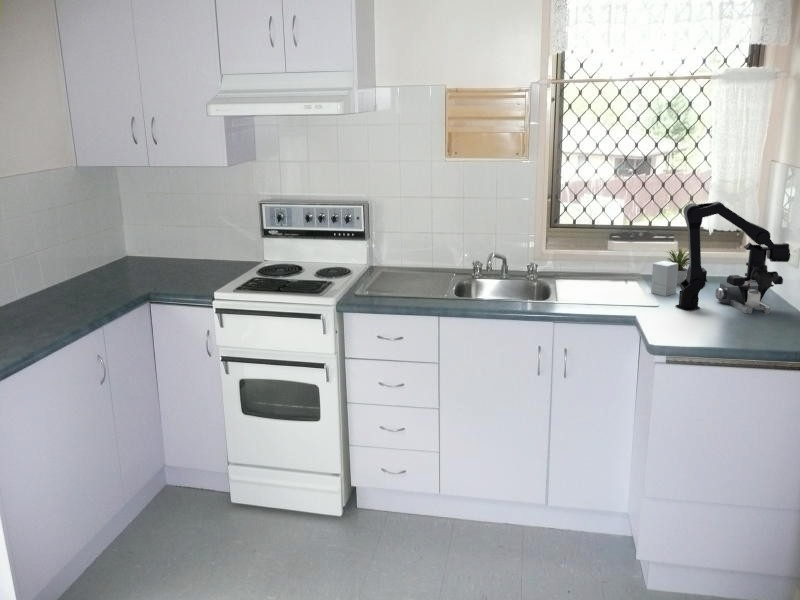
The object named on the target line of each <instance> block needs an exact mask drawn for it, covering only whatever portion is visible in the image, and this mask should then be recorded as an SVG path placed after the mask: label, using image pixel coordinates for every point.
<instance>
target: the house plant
mask: <svg viewBox="0 0 800 600" xmlns="http://www.w3.org/2000/svg"><path fill="white" fill-rule="evenodd" d="M687 251H689V247H688V248H686V249H685V250H684V251H683V247H681V246H679V247H678V253H677V252H676V251H674V250H673V249H672V248H671V249H670V250H668V251H666V253H667V254H668V255H669V256H670V257H669V258H668V257H667V258H666V260H668V261H669V262H673V263H678V276H677V286H680V285H679V284H680V283H681V282H683V281H684V280H685V279H686V276H687V270H688V268H687V267H688V265H689V252H688V253H687ZM686 253H687V254H686ZM685 254H686V255H685ZM684 255H685V256H684Z"/></svg>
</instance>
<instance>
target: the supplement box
mask: <svg viewBox="0 0 800 600" xmlns="http://www.w3.org/2000/svg"><path fill="white" fill-rule="evenodd" d="M651 273H652V274H651V286H650V287H651V288H650V294H656V295H660V296H664V297H667V296H671V295H674V294H677V286H678V285H677V276H678V263H673V262H672V261H669V260H668V261H667V260H661V261H657V262H656V261H655V262H653V263H652V271H651Z"/></svg>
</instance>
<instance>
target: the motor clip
mask: <svg viewBox="0 0 800 600" xmlns="http://www.w3.org/2000/svg"><path fill="white" fill-rule="evenodd" d="M748 286H750V288H749V289H748V291H749V290H750V289H755V290H758V284H756V283H755V282H748ZM714 294H715V298H716V299H717V300H718V301H719V302H721V303H722V304H724V305H731V306H732V307H734V308H736V310H739V311H741V312H742V313H744V314H749V315H751V314H752V313H753V308H750V307H746V306H745V302H744V300H743V297H742V294H741V291H740V289H739V287H738V286H733V285H731V284H729V283H727V282H720V284H719V287H717V288H716V289H715V292H714ZM757 309H759V310H761V311H763V313H764V314H769V313H770V312H771V306H769V305H766V304H765V303H763V302H761V301H760V305H759V307H758V308H757Z"/></svg>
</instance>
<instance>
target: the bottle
mask: <svg viewBox="0 0 800 600" xmlns="http://www.w3.org/2000/svg"><path fill="white" fill-rule="evenodd" d="M760 296H761V293H760V292H758V290H755V289H750V290H749V291H748V297H747V302H745V304H744V306H746V307H748V308H752V309H753V308H754V309H756V308H757V309H759V308H758V307H759V305H760V302H761V301H760Z"/></svg>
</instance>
